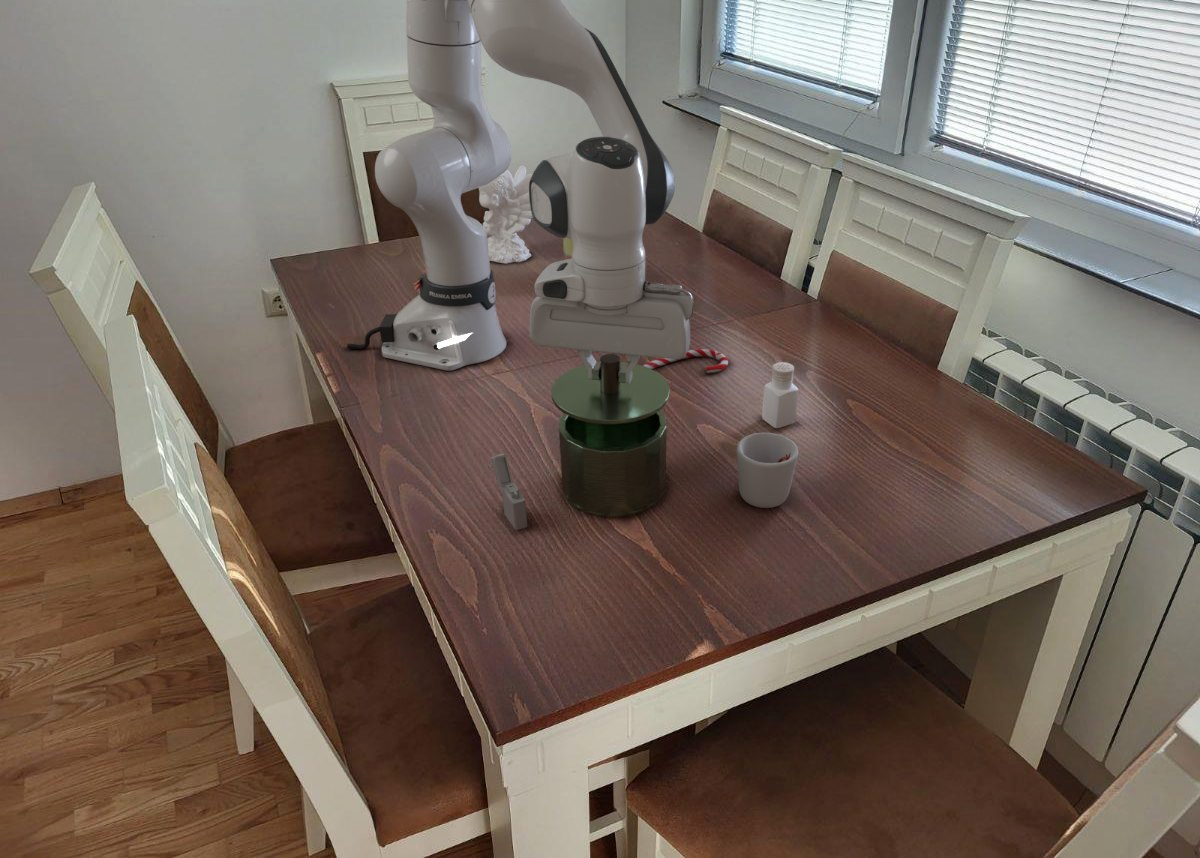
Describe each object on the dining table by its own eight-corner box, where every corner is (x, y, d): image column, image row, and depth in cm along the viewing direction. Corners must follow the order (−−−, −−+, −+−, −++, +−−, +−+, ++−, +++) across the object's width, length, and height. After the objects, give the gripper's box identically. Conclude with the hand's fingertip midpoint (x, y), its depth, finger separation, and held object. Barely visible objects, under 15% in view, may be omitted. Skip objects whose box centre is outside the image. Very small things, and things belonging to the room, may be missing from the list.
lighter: (528, 526, 116) (523, 476, 112) (515, 530, 116) (511, 480, 112) (507, 498, 122) (502, 449, 118) (495, 502, 121) (490, 453, 117)
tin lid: (550, 429, 110) (547, 389, 107) (553, 370, 123) (551, 333, 120) (674, 426, 110) (675, 386, 107) (664, 367, 123) (665, 330, 120)
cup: (724, 471, 126) (726, 423, 122) (779, 467, 127) (783, 419, 122) (740, 517, 117) (744, 466, 113) (800, 512, 117) (805, 462, 113)
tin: (562, 519, 117) (558, 453, 112) (563, 459, 130) (560, 397, 124) (669, 515, 118) (670, 449, 112) (660, 456, 130) (661, 394, 124)
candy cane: (636, 356, 154) (717, 344, 157) (636, 363, 155) (717, 351, 158) (649, 376, 148) (734, 364, 151) (649, 383, 148) (733, 371, 151)
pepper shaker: (775, 430, 135) (780, 375, 130) (759, 418, 138) (764, 364, 133) (796, 423, 136) (802, 369, 131) (780, 412, 139) (785, 358, 134)
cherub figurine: (478, 246, 206) (469, 160, 196) (530, 241, 209) (524, 155, 198) (485, 266, 196) (476, 176, 185) (541, 260, 198) (535, 170, 187)
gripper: (698, 276, 108) (693, 376, 115) (537, 263, 112) (542, 360, 119) (689, 297, 103) (685, 400, 110) (521, 283, 107) (528, 383, 114)
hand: (610, 379), depth 115 cm, fingers closed on tin lid, 2 cm apart
